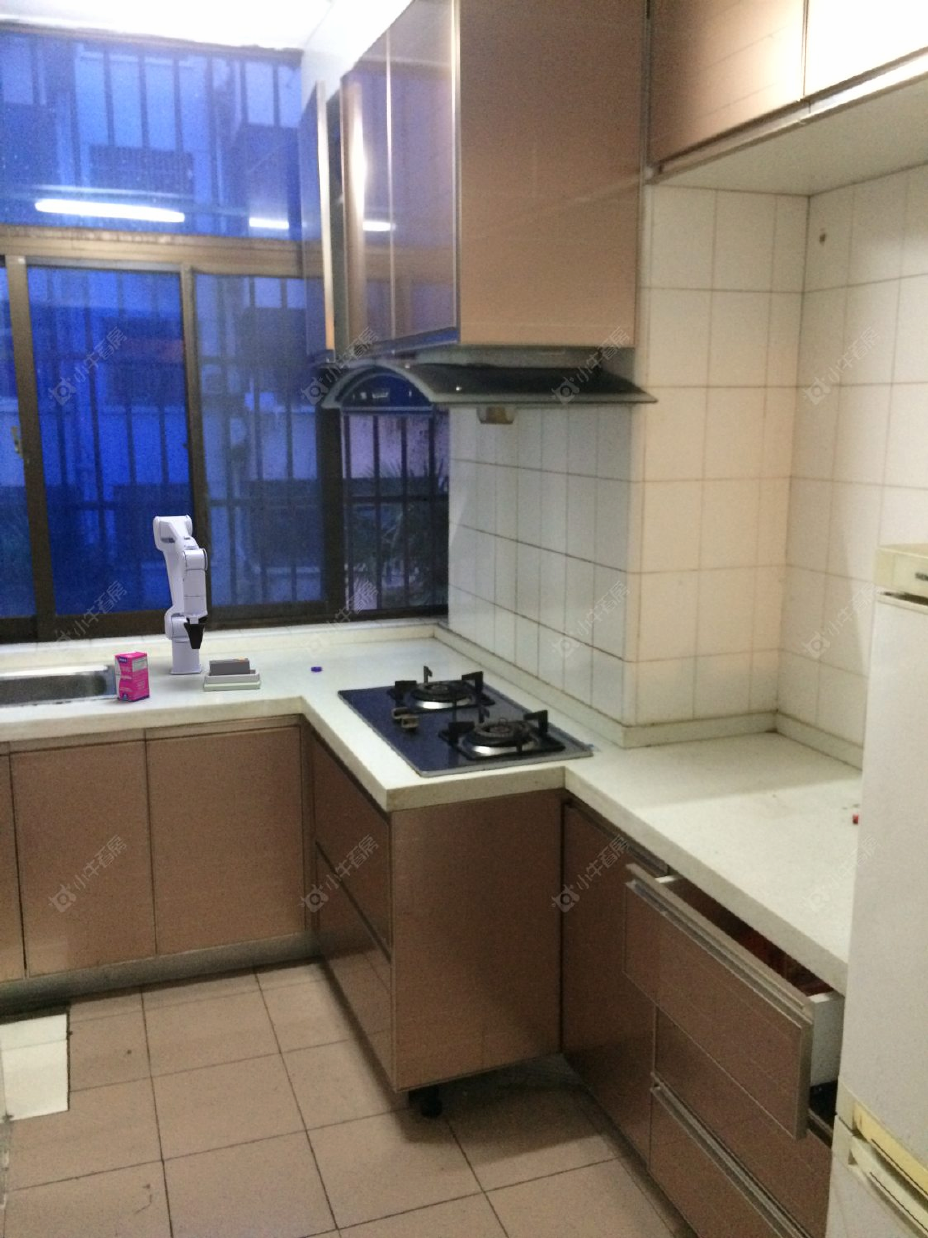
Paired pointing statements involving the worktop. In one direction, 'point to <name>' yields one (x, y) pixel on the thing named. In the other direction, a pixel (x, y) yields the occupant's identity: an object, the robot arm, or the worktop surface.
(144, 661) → the supplement box
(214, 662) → the charcoal bar
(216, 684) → the mounting board
